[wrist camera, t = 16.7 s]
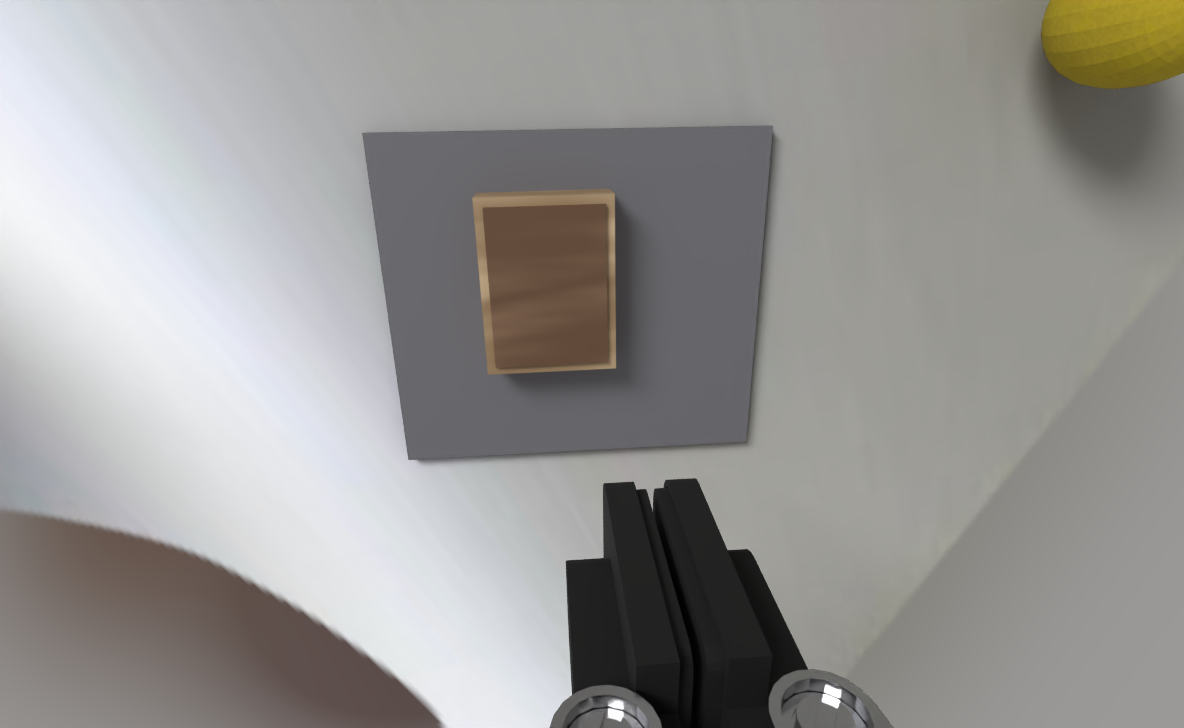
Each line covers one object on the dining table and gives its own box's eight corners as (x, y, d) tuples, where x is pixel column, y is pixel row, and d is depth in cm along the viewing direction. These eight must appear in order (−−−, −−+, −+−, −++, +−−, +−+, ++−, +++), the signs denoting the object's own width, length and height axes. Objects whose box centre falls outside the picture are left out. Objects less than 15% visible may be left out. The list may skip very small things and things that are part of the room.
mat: (768, 125, 28) (773, 125, 28) (742, 436, 34) (746, 441, 34) (365, 132, 27) (362, 132, 27) (410, 454, 33) (408, 459, 33)
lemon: (1121, -65, 27) (1345, -135, 19) (1117, 71, 29) (1318, 55, 21) (996, -25, 27) (1171, -79, 20) (1001, 108, 29) (1160, 104, 22)
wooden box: (616, 369, 29) (615, 194, 26) (487, 376, 29) (471, 198, 26) (611, 353, 31) (609, 188, 28) (490, 359, 31) (476, 192, 28)
